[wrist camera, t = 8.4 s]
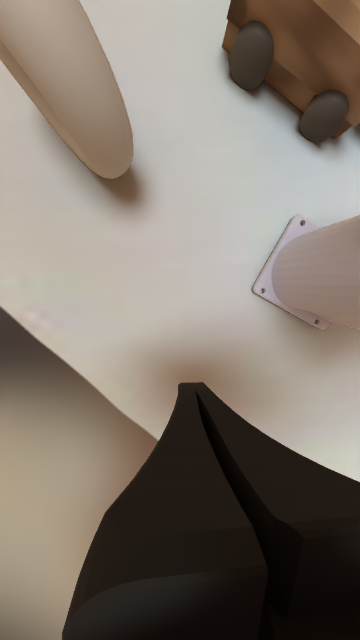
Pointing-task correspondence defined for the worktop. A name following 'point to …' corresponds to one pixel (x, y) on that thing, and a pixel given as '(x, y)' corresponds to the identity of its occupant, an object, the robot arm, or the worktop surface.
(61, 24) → the donut
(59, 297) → the worktop surface
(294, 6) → the box
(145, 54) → the worktop surface
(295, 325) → the worktop surface
